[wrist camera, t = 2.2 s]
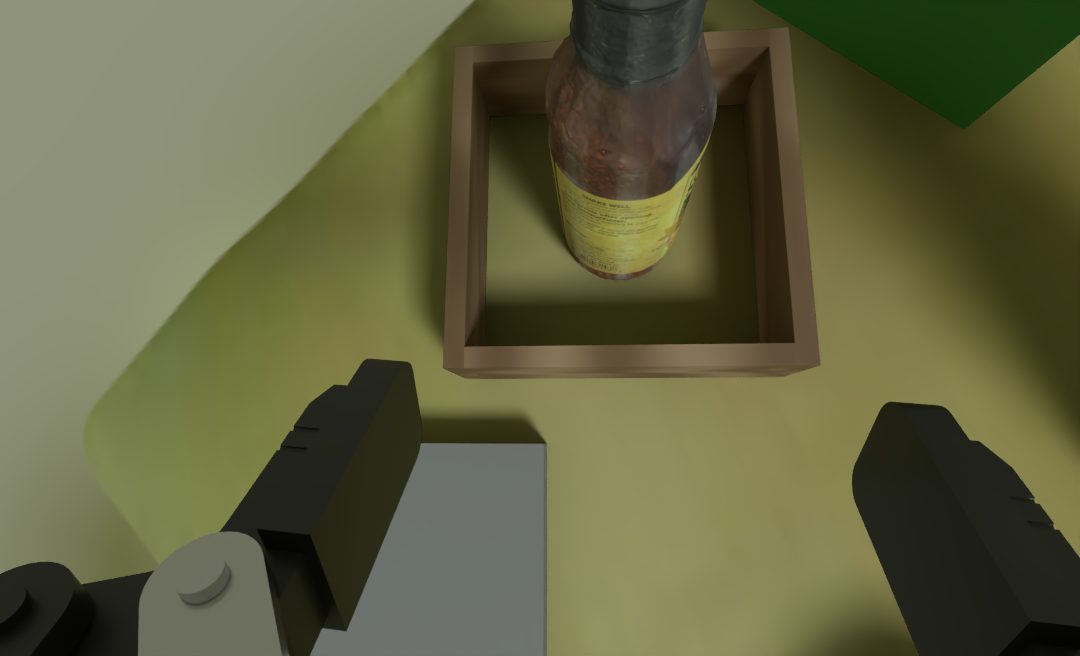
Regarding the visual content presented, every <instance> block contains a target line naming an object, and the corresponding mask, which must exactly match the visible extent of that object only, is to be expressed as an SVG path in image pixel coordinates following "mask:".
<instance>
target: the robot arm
mask: <svg viewBox="0 0 1080 656" xmlns="http://www.w3.org/2000/svg"><path fill="white" fill-rule="evenodd" d="M421 439H422V423H421V417H420V411H419V404H418V398H417V392H416V386H415V380H414V374H413V369H412V366H411V364H410V363H409V362H404V361H392V360H379V359H366V360H364V361H363V362H362V364H361V365H360V367H359V368H358V370H357V371H356V373H355V374H354V376H353V378H352V379H351V381H350V382H349V384H348V385H347V386H345V385H333V386H332V387H331V388H329V389H328V390H327V391H325V392H324V393H323V394H321V395H320V396H319V397H317V398H316V399H315V400H313V401H312V402H311V403H310V404H309V405H308V406H307V408H306V409H305V411H304V412H303V414H302V415H301V416H300V418H299V419H298V421H297V422H296V424H295V425H294V430H293V431H290V432H289V434H288V435H287V437H286V438H285V439H284V441H283V442H282V444H281V448H280V450H277V451H276V452H275V454H274V455H273V457H272V458H271V460H270V461H269V462H268V464H267V465H266V467H265V468H264V470H263V471H262V473H261V474H260V475H259V477H258V478H257V480H256V481H255V483H254V484H253V485H252V487H251V488H250V490H249V491H248V493H247V494H246V496H245V497H244V498H243V500H242V501H241V503H240V504H239V506H238V507H237V508H236V510H235V511H234V513H233V514H232V516H231V517H230V519H229V520H228V521H227V523H226V524H225V525H224V527H223V528H222V529H221V531H220V532H218V533H213V534H209V535H206V536H203V537H200V538H198V539H196V540H194V541H191V542H189V543H188V544H186V545H184V546H182V547H181V548H179V549H178V550H176V551H175V552H174V553H172V554H171V555H170V556H169V557H167V558H166V559H165V560H164V561H163V562H162V563H161V564H160V565H159V566H158V567H157V568H156V570H155V571H151V572H146V573H141V574H136V575H130V576H125V577H119V578H114V579H109V580H103V581H98V582H93V583H87V584H81V583H80V582H79V581H78V580H77V578H76V577H75V576H74V575H73V573H72V572H71V571H70V570H69V569H68V568H66V567H65V566H64V565H61V564H59V563H54V562H37V563H31V564H26V565H23V566H20V567H16V568H14V569H11V570H8V571H6V572H4V573H1V574H0V656H311V652H312V650H313V648H314V646H315V643H316V641H317V639H318V637H319V634H320V632H321V630H322V628H325V629H332V630H340V631H347V629H348V627H349V624H350V622H351V619H352V617H353V615H354V612H355V610H356V607H357V605H358V602H359V600H360V597H361V595H362V592H363V590H364V588H365V585H366V583H367V580H368V578H369V575H370V573H371V570H372V568H373V566H374V563H375V561H376V558H377V556H378V553H379V551H380V548H381V546H382V543H383V541H384V539H385V536H386V534H387V531H388V529H389V526H390V524H391V521H392V519H393V517H394V514H395V512H396V509H397V507H398V504H399V502H400V499H401V497H402V495H403V492H404V490H405V487H406V485H407V482H408V480H409V477H410V475H411V472H412V470H413V468H414V465H415V463H416V460H417V457H418V454H419V451H420V446H421ZM852 489H853V496H854V500H855V503H856V505H857V508H858V510H859V513H860V515H861V517H862V520H863V522H864V525H865V527H866V529H867V532H868V534H869V537H870V539H871V541H872V544H873V546H874V549H875V551H876V553H877V556H878V558H879V561H880V563H881V565H882V568H883V570H884V573H885V575H886V577H887V580H888V582H889V584H890V587H891V589H892V592H893V594H894V596H895V599H896V601H897V604H898V606H899V608H900V611H901V613H902V616H903V618H904V620H905V623H906V625H907V628H908V630H909V632H910V635H911V637H912V640H913V642H914V644H915V647H916V649H917V652H918V654H919V656H1080V557H1079V556H1078V555H1077V553H1076V552H1075V551H1074V549H1073V548H1072V547H1071V545H1070V544H1069V543H1068V541H1067V540H1066V539H1065V537H1064V536H1063V535H1062V533H1061V532H1060V531H1059V530H1055V529H1054V527H1053V524H1054V523H1053V521H1052V520H1051V519H1050V517H1049V516H1048V515H1047V513H1046V512H1045V511H1044V509H1043V508H1042V507H1041V505H1040V504H1035V502H1034V498H1035V497H1034V496H1033V495H1032V493H1031V492H1030V491H1029V489H1028V488H1027V487H1026V485H1025V484H1024V483H1023V481H1022V480H1021V479H1020V477H1019V476H1018V475H1017V473H1016V472H1015V471H1014V469H1013V468H1012V467H1011V466H1009V465H1008V464H1007V463H1006V462H1004V461H1003V460H1002V459H1001V458H999V457H998V456H997V455H996V454H994V453H993V452H992V451H991V450H989V449H988V448H987V447H986V446H984V445H983V444H982V443H981V442H979V441H971V440H969V438H968V437H967V435H966V434H965V433H964V431H963V430H962V428H961V427H960V426H959V424H958V423H957V421H956V420H955V418H954V417H953V416H952V414H951V413H950V412H949V411H948V410H947V409H946V408H944V407H942V406H938V405H926V404H913V403H901V402H888V403H886V404H885V405H884V406H883V407H882V408H881V410H880V412H879V414H878V416H877V418H876V420H875V422H874V425H873V427H872V429H871V431H870V433H869V435H868V437H867V440H866V442H865V444H864V446H863V448H862V450H861V453H860V455H859V457H858V459H857V461H856V463H855V466H854V470H853V475H852Z"/></svg>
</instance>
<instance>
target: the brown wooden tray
mask: <svg viewBox="0 0 1080 656" xmlns="http://www.w3.org/2000/svg"><path fill="white" fill-rule="evenodd" d="M703 34H704V38H705V43H706V48H707V52H708V57H709V61H710V66H711V71H712V75H713V80H714V85H715V89H716V97H717V106H722V105H743V116H744V130H745V143H746V157H747V171H748V184H749V198H750V212H751V225H752V239H753V252H754V266H755V280H756V293H757V307H758V321H759V334H760V343H756V344H665V345H574V346H485V307H486V263H487V218H488V174H489V129H490V117H491V116H512V115H533V114H547V110H546V106H545V105H546V84H547V78H548V75H549V69H550V65H551V59H552V57H553V56H554V53H555V52H556V50H557V49H558V48H559V46H560V45H561V44H562V42H563V41H564V40H562V41H545V42H528V43H511V44H494V45H477V46H460V47H455V51H454V78H453V105H452V132H451V159H450V187H449V214H448V241H447V268H446V296H445V323H444V350H443V368H444V369H446V370H448V371H450V372H453V373H455V374H457V375H459V376H461V377H463V378H466V379H516V378H687V377H784V376H787V375H790V374H793V373H797V372H800V371H803V370H806V369H810V368H813V367H816V366H819V365H820V356H819V345H818V335H817V324H816V313H815V303H814V292H813V281H812V271H811V260H810V249H809V239H808V228H807V217H806V206H805V196H804V185H803V174H802V164H801V153H800V142H799V132H798V121H797V110H796V100H795V89H794V78H793V68H792V57H791V46H790V36H789V27H782V28H765V29H748V30H731V31H714V32H703Z"/></svg>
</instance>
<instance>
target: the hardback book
mask: <svg viewBox="0 0 1080 656" xmlns="http://www.w3.org/2000/svg"><path fill="white" fill-rule="evenodd" d="M753 1H755V2H757V3H758V4H760V5H762V6H763V7H765V8H766V9H768V10H770V11H771V12H773V13H775V14H776V15H778V16H780V17H781V18H783V19H784V20H786V21H788V22H789V23H791V24H793V25H794V26H796V27H797V28H799V29H801V30H802V31H804V32H806V33H807V34H809V35H811V36H812V37H814V38H815V39H817V40H819V41H820V42H822V43H824V44H825V45H827V46H828V47H830V48H832V49H833V50H835V51H837V52H838V53H840V54H842V55H843V56H845V57H846V58H848V59H850V60H851V61H853V62H855V63H856V64H858V65H859V66H861V67H863V68H864V69H866V70H868V71H869V72H871V73H873V74H874V75H876V76H877V77H879V78H881V79H882V80H884V81H886V82H887V83H889V84H891V85H892V86H894V87H895V88H897V89H899V90H900V91H902V92H904V93H905V94H907V95H908V96H910V97H912V98H913V99H915V100H917V101H918V102H920V103H922V104H923V105H925V106H926V107H928V108H930V109H931V110H933V111H935V112H936V113H938V114H939V115H941V116H943V117H944V118H946V119H948V120H949V121H951V122H953V123H954V124H956V125H957V126H959V127H961V128H962V129H965V128H966V127H968V126H969V125H970V124H971V123H972V122H974V121H975V120H976V119H977V118H978V117H980V116H981V115H982V114H983V113H985V112H986V111H987V110H988V109H989V108H991V107H992V106H993V105H994V104H996V103H997V102H998V101H999V100H1000V99H1002V98H1003V97H1004V96H1005V95H1007V94H1008V93H1009V92H1010V91H1011V90H1013V89H1014V88H1015V87H1016V86H1017V85H1019V84H1020V83H1021V82H1022V81H1024V80H1025V79H1026V78H1027V77H1028V76H1030V75H1031V74H1032V73H1033V72H1035V71H1036V70H1037V69H1038V68H1039V67H1041V66H1042V65H1043V64H1044V63H1046V62H1047V61H1048V60H1049V59H1050V58H1052V57H1053V56H1054V55H1055V54H1056V53H1058V52H1059V51H1060V50H1061V49H1063V48H1064V47H1065V46H1066V45H1067V44H1069V43H1070V42H1071V41H1072V40H1074V39H1075V38H1076V37H1077V36H1078V35H1080V0H753Z"/></svg>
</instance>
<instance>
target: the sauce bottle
mask: <svg viewBox="0 0 1080 656" xmlns="http://www.w3.org/2000/svg"><path fill="white" fill-rule="evenodd" d="M706 1H707V0H572V5H573V11H572V18H571V22H570V35H569V36H568V37H567V38H565V39H564V41H563V42H562V44H561V45H560V46H559V48H558V49H557V50H556V52H555V53H554V56H553V57H552V59H551V65H550V69H549V75H548V78H547V84H546V105H545V106H546V110H547V119H548V122H549V135H548V140H549V148H550V154H551V160H552V167H553V173H554V179H555V185H556V191H557V197H558V203H559V209H560V215H561V220H562V227H563V233H564V236H566V240H567V244H568V248H569V250H570V252H571V253H572V255H573V256H574V258H575V259H576V261H577V262H578V263H580V264H581V266H582V267H584V268H586V269H587V270H589V271H590V272H592V273H593V274H595V275H597V276H599V277H601V278H604V279H611V280H625V279H631V278H634V277H639V276H641V275H643V274H645V273H647V272H649V271H650V270H652V269H653V268H654V267H655V266H656V265H657V264H658V262H659V261H660V260H661V258H662V257H663V256H664V255H665V254H666V253H667V252H668V250H669V249H670V248H671V246H672V245H673V243H674V240H675V238H676V235H677V232H678V229H679V226H680V223H681V220H682V217H683V214H684V211H685V208H686V205H687V203H688V201H689V197H690V194H691V191H692V188H693V186H694V183H695V180H696V177H697V175H698V171H699V168H700V165H701V161H702V159H703V156H704V154H705V151H706V148H707V145H708V141H709V138H710V135H711V132H712V129H713V125H714V122H715V117H716V109H717V97H716V89H715V85H714V80H713V75H712V71H711V66H710V61H709V57H708V52H707V48H706V43H705V38H704V34H703V14H704V9H705V5H706Z"/></svg>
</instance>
